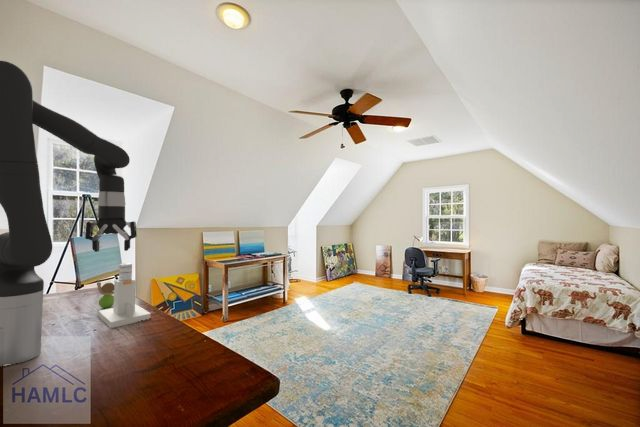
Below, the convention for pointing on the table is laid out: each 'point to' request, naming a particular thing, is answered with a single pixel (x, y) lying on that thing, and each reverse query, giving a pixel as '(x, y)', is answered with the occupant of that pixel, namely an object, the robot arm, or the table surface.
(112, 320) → the grey stand
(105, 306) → the snail figurine
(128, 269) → the steel bar
